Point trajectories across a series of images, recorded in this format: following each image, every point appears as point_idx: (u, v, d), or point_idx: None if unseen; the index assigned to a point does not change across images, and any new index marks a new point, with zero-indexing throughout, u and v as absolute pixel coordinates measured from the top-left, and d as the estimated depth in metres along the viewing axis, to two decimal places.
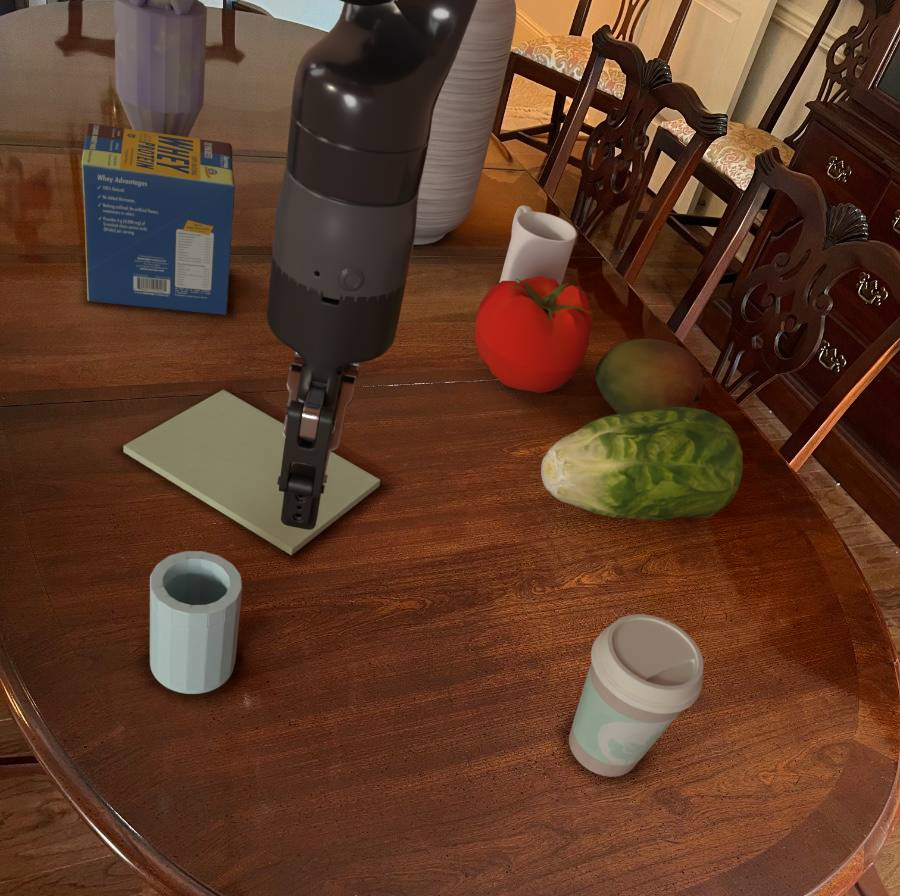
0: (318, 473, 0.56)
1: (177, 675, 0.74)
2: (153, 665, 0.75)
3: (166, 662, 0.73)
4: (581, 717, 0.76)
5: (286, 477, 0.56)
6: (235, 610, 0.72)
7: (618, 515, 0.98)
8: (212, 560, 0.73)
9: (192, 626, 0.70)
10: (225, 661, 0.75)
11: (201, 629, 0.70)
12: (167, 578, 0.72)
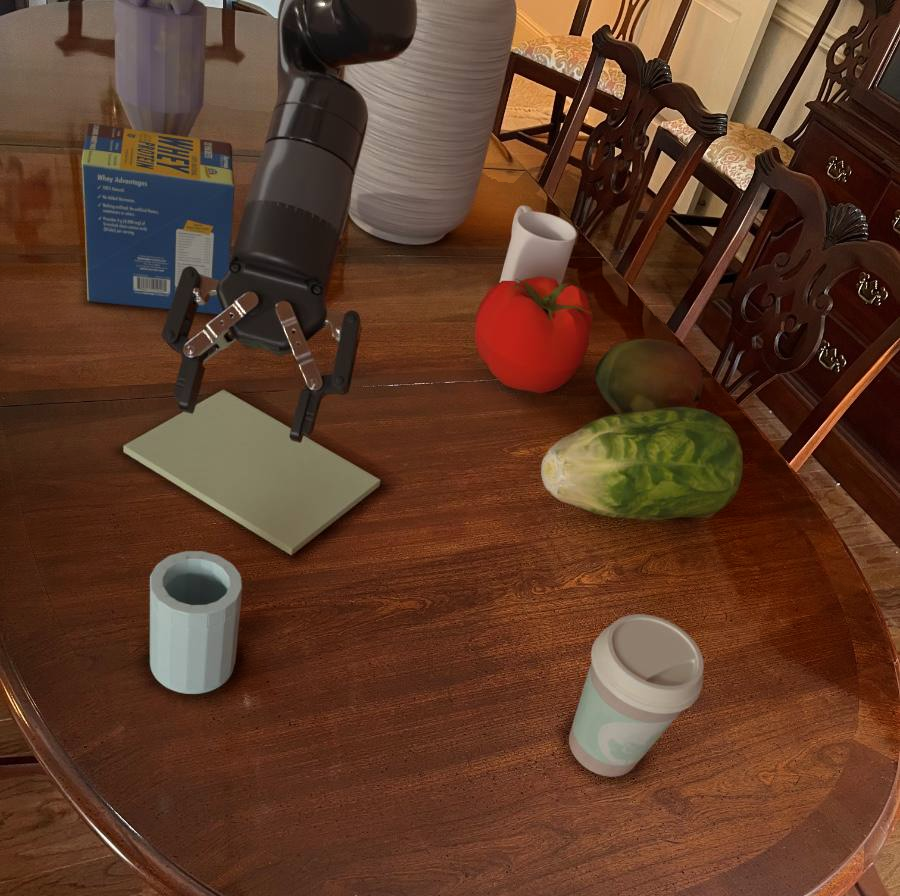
0: None
1: (177, 675, 0.74)
2: (153, 665, 0.75)
3: (166, 662, 0.73)
4: (581, 717, 0.76)
5: (349, 373, 0.74)
6: (235, 610, 0.72)
7: (618, 515, 0.98)
8: (212, 560, 0.73)
9: (192, 626, 0.70)
10: (225, 661, 0.75)
11: (201, 629, 0.70)
12: (167, 578, 0.72)
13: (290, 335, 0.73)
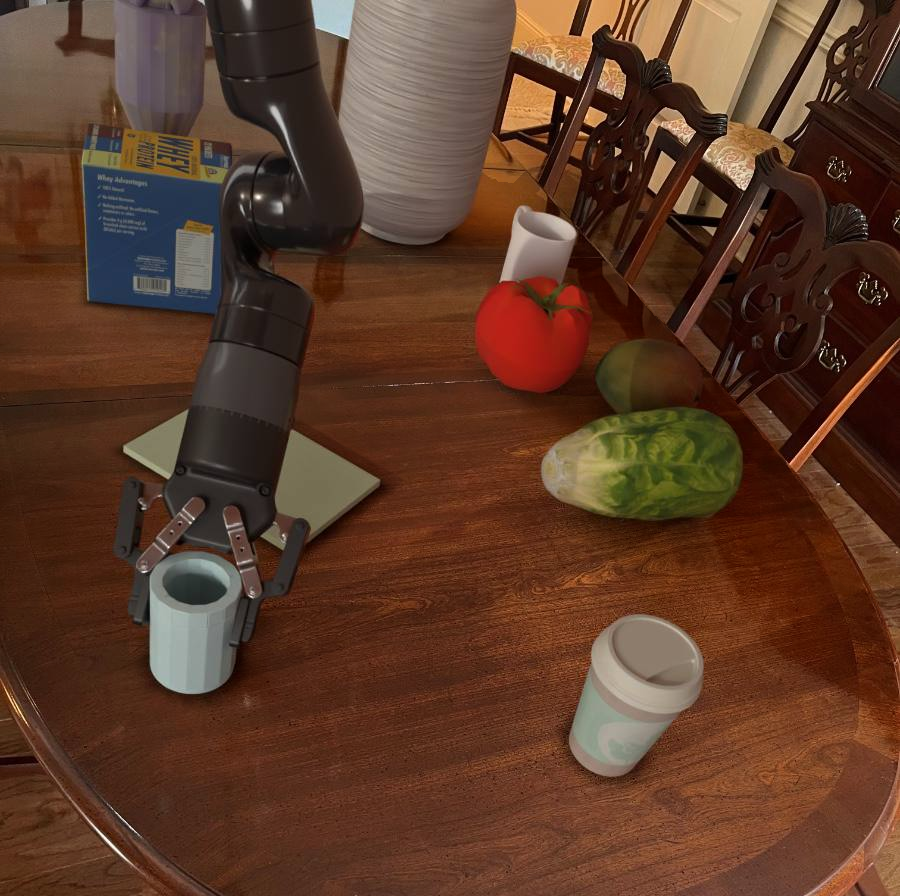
0: (296, 572, 0.74)
1: (176, 675, 0.74)
2: (153, 665, 0.75)
3: (166, 662, 0.73)
4: (581, 717, 0.76)
5: (291, 580, 0.72)
6: (235, 610, 0.72)
7: (618, 515, 0.98)
8: (212, 560, 0.73)
9: (192, 626, 0.70)
10: (225, 661, 0.75)
11: (201, 629, 0.70)
12: (167, 578, 0.72)
13: (234, 540, 0.71)
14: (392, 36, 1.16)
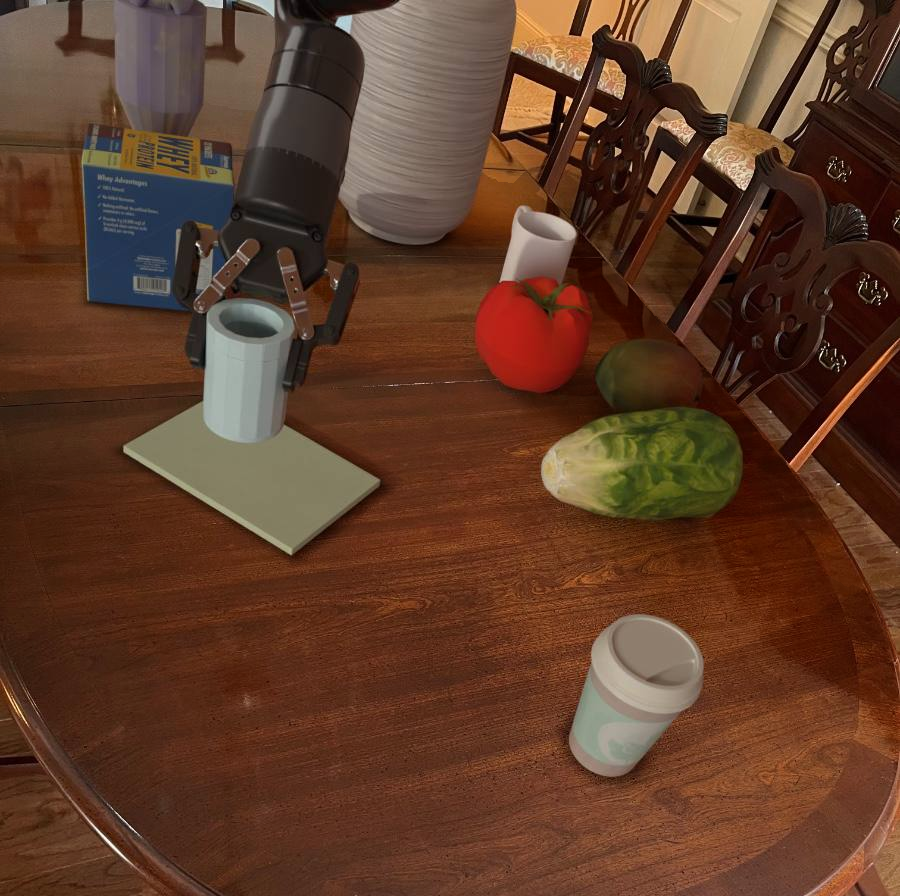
0: None
1: (230, 420, 0.76)
2: (207, 414, 0.77)
3: (221, 404, 0.76)
4: (581, 717, 0.76)
5: (341, 324, 0.75)
6: (288, 350, 0.74)
7: (618, 515, 0.98)
8: (265, 306, 0.75)
9: (248, 359, 0.72)
10: (276, 410, 0.77)
11: (256, 363, 0.73)
12: (222, 320, 0.74)
13: (288, 282, 0.74)
14: (392, 36, 1.16)
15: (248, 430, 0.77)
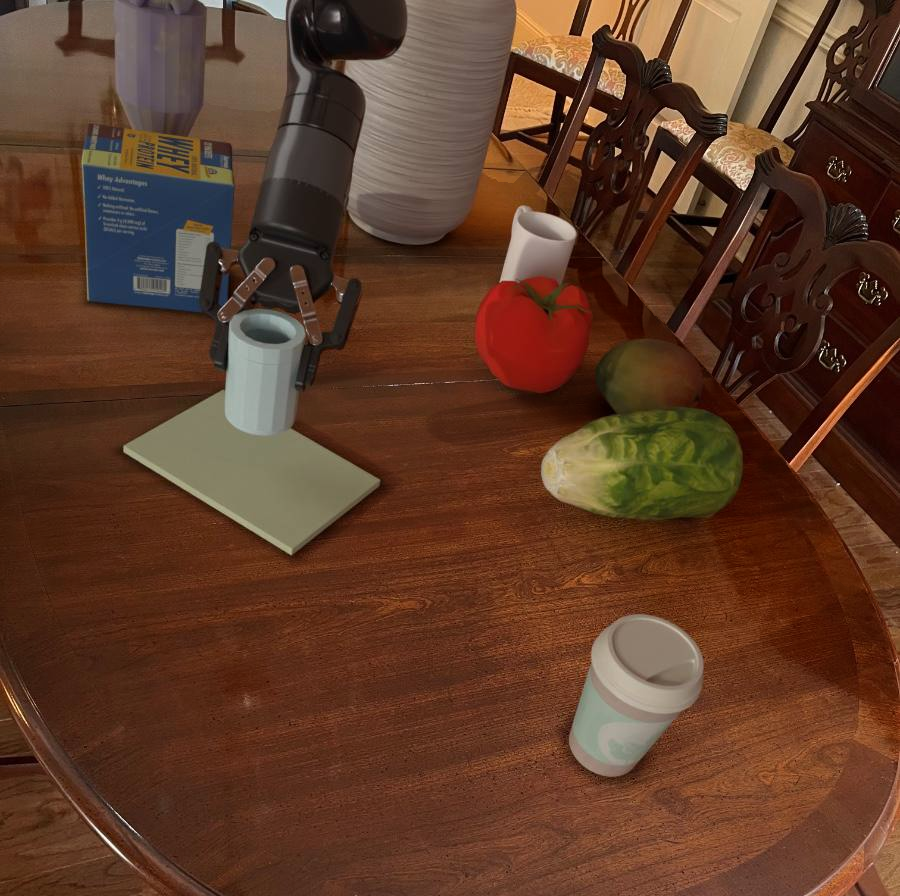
0: (350, 329, 0.88)
1: (249, 415, 0.87)
2: (228, 410, 0.88)
3: (241, 402, 0.86)
4: (581, 717, 0.76)
5: (346, 331, 0.86)
6: (300, 354, 0.85)
7: (618, 515, 0.98)
8: (280, 316, 0.86)
9: (265, 362, 0.83)
10: (289, 406, 0.88)
11: (272, 366, 0.84)
12: (242, 328, 0.85)
13: (300, 295, 0.85)
14: None
15: (265, 424, 0.88)
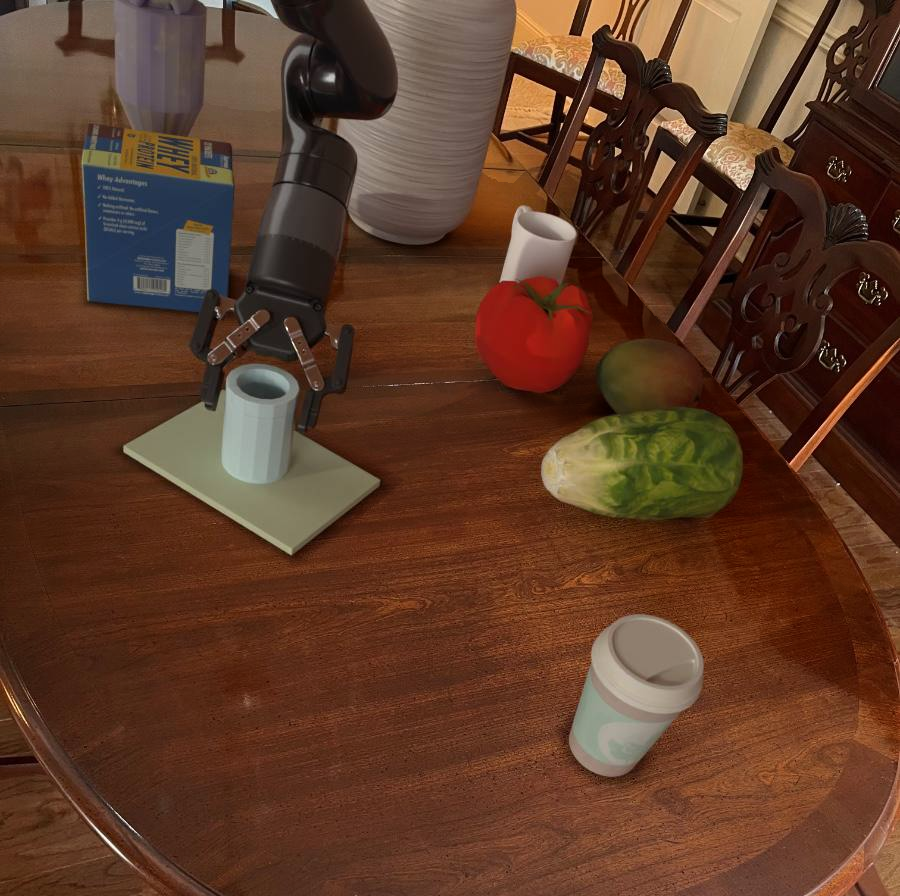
0: (348, 373, 0.91)
1: (245, 465, 0.91)
2: (225, 459, 0.92)
3: (238, 453, 0.90)
4: (581, 717, 0.76)
5: (346, 376, 0.89)
6: (294, 408, 0.89)
7: (618, 515, 0.98)
8: (274, 370, 0.90)
9: (260, 416, 0.87)
10: (284, 456, 0.92)
11: (267, 420, 0.88)
12: (239, 383, 0.89)
13: (297, 345, 0.88)
14: (392, 36, 1.16)
15: (260, 473, 0.92)
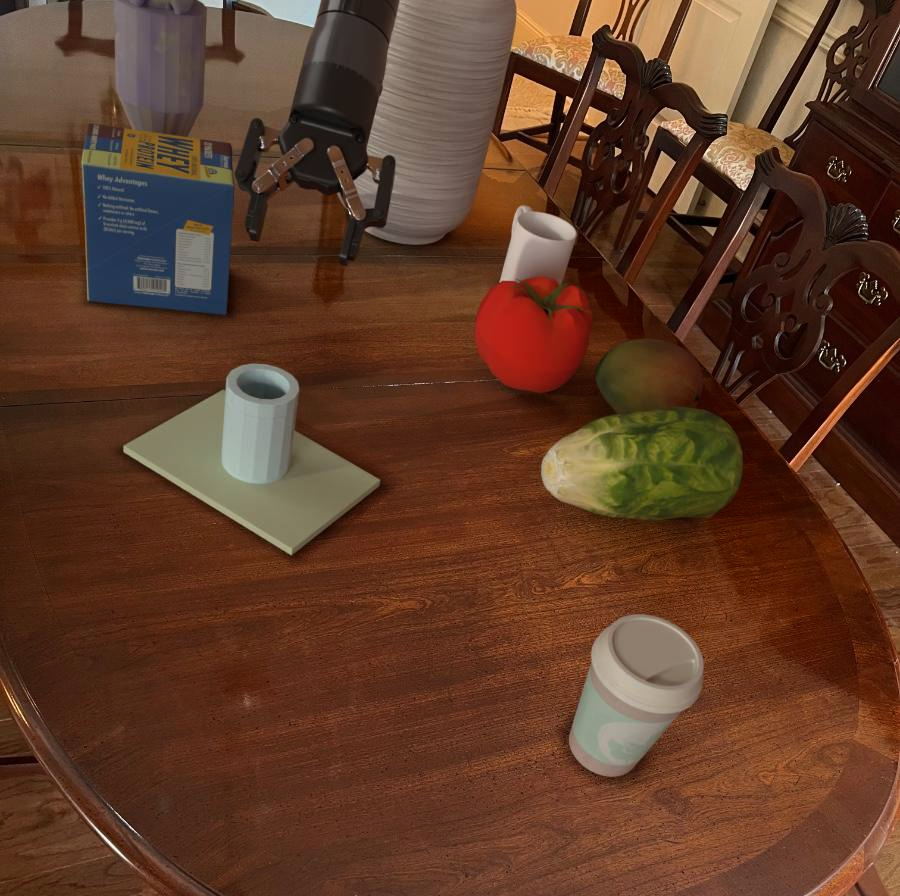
0: None
1: (245, 465, 0.91)
2: (225, 459, 0.92)
3: (238, 453, 0.90)
4: (581, 717, 0.76)
5: (387, 207, 0.91)
6: (294, 408, 0.89)
7: (618, 515, 0.98)
8: (274, 370, 0.90)
9: (260, 416, 0.87)
10: (284, 456, 0.92)
11: (267, 420, 0.88)
12: (239, 383, 0.89)
13: (339, 174, 0.90)
14: (392, 36, 1.16)
15: (260, 473, 0.92)
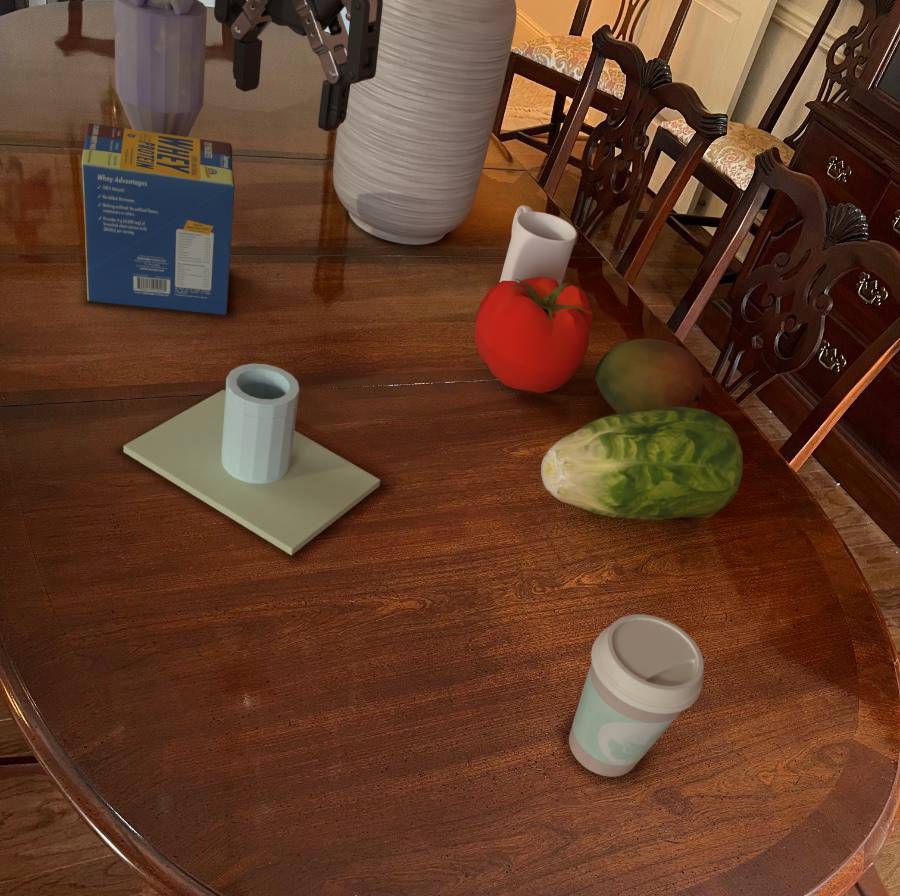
0: (375, 52, 0.76)
1: (245, 465, 0.91)
2: (225, 459, 0.92)
3: (238, 453, 0.90)
4: (581, 717, 0.76)
5: (361, 66, 0.75)
6: (294, 408, 0.89)
7: (618, 515, 0.98)
8: (274, 370, 0.90)
9: (260, 416, 0.87)
10: (284, 456, 0.92)
11: (267, 420, 0.88)
12: (239, 383, 0.89)
13: (306, 24, 0.75)
14: (392, 36, 1.16)
15: (260, 473, 0.92)
